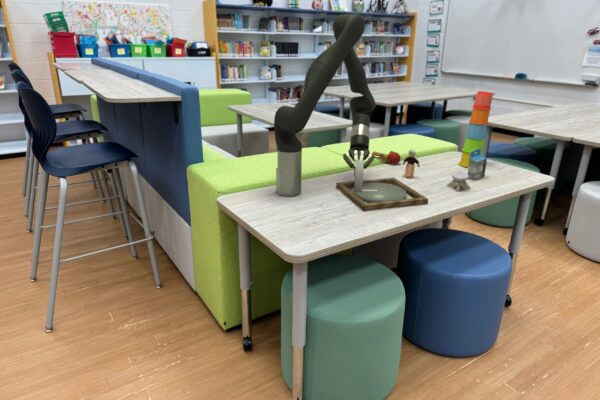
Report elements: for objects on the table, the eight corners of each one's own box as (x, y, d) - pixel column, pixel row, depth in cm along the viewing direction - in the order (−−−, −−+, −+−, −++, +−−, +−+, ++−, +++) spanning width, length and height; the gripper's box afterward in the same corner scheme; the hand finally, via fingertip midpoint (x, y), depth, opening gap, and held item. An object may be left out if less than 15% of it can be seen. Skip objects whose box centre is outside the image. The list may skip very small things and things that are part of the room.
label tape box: (474, 181, 183) (479, 153, 179) (465, 178, 186) (470, 151, 182) (484, 177, 189) (489, 149, 184) (475, 174, 192) (480, 148, 187)
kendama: (366, 160, 217) (391, 164, 201) (368, 148, 216) (393, 151, 200) (378, 161, 221) (403, 165, 205) (380, 149, 220) (405, 152, 204)
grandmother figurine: (399, 177, 187) (402, 149, 182) (401, 175, 190) (404, 147, 185) (417, 179, 184) (421, 151, 179) (419, 177, 187) (422, 149, 183)
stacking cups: (462, 161, 212) (473, 89, 200) (483, 164, 207) (496, 91, 194) (455, 166, 204) (466, 92, 192) (477, 169, 199) (490, 93, 186)
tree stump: (451, 182, 181) (453, 169, 179) (473, 187, 176) (475, 173, 174) (443, 188, 174) (445, 175, 172) (466, 193, 169) (468, 179, 167)
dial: (386, 208, 152) (390, 172, 147) (343, 194, 165) (345, 160, 160) (416, 195, 166) (420, 161, 161) (373, 183, 179) (376, 151, 174)
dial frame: (363, 211, 150) (363, 205, 150) (336, 187, 174) (336, 182, 173) (427, 204, 158) (428, 198, 157) (393, 182, 181) (393, 177, 180)
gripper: (343, 132, 169) (340, 171, 163) (377, 134, 168) (375, 173, 161) (343, 142, 176) (340, 180, 170) (375, 144, 175) (373, 182, 168)
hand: (357, 177), depth 165 cm, fingers closed
